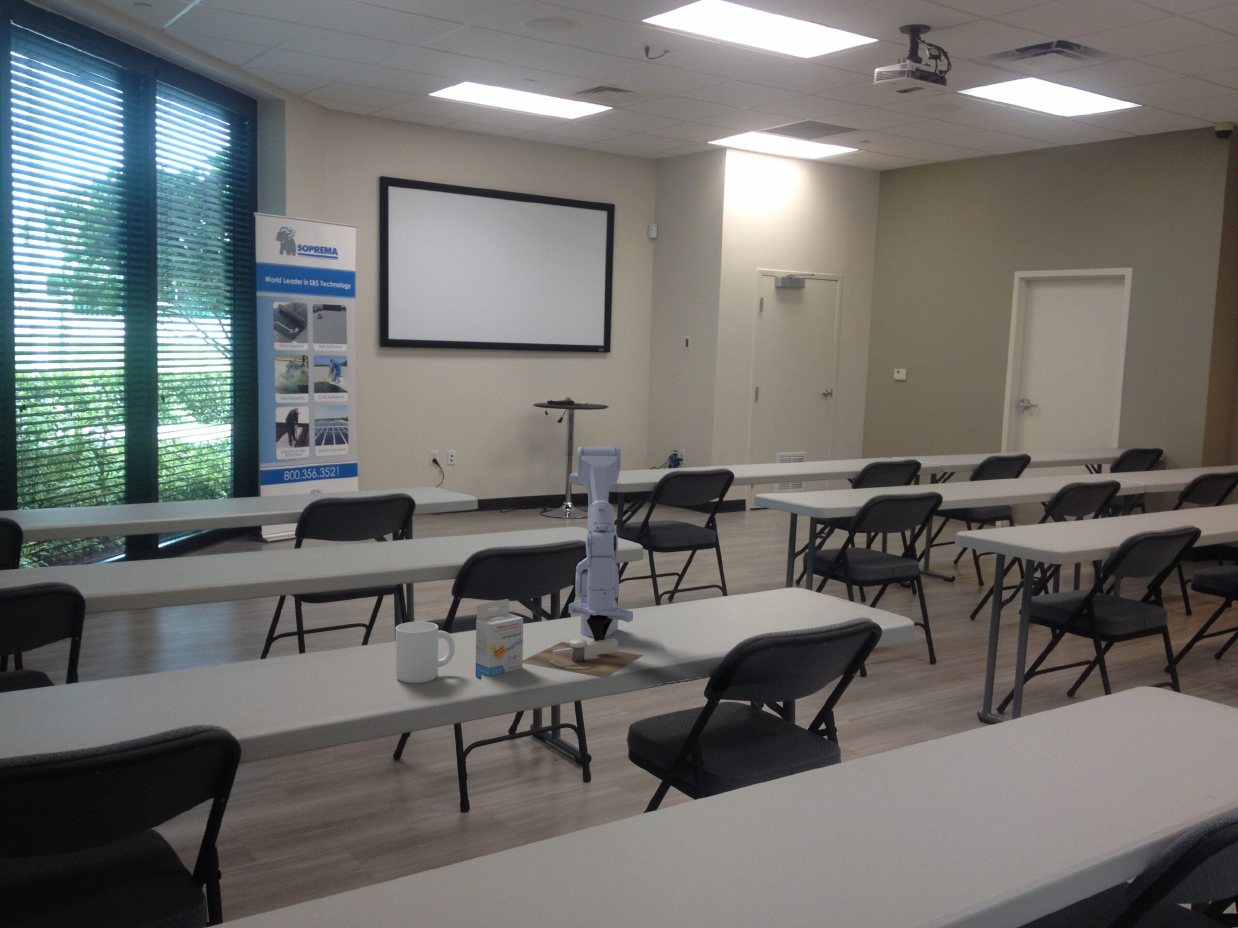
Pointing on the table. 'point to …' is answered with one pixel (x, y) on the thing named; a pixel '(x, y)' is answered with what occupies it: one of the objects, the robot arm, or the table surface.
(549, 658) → the wood grain tray mat
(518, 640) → the ink box
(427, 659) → the mug
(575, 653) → the lever
